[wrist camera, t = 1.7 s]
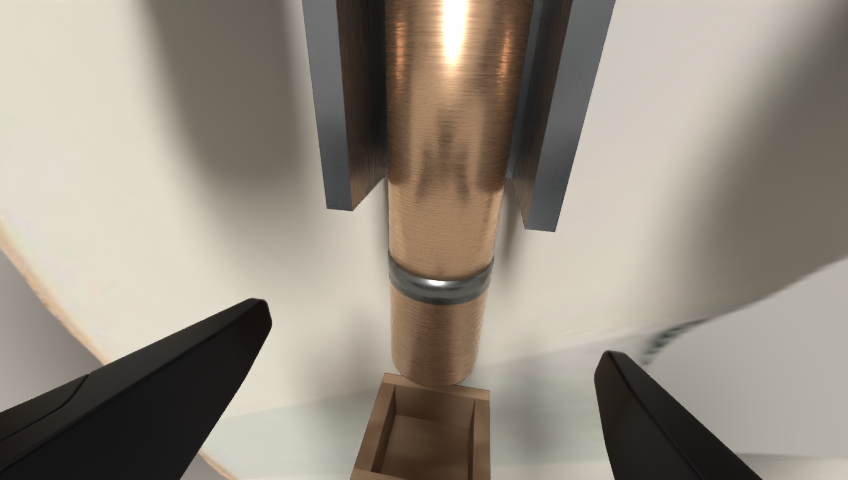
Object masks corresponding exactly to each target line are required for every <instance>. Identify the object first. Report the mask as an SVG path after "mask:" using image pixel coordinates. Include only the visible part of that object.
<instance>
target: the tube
mask: <svg viewBox="0 0 848 480" xmlns="http://www.w3.org/2000/svg"><path fill="white" fill-rule="evenodd" d="M533 7H534V0H385V38H386V90H387V142H388V194H389V245H390V247H389V251H388V260H389V278H390V297H391V349H392V359H393V362H394V365H395V367H396V368H397V370H398V371H399V372H400V373H401V374H402V375H403V376H404V377H405V378H406V379H408V380H409V381H411V382H413V383H415V384H418V385H421V386H425V387H431V388H442V387H448V386H452V385H454V384H457V383H459V382H461V381H462V380H464V379H465V378H466V377H467V376H468V375H469V374H470V373H471V371H472V370H473V368H474V366H475V362H476V357H477V351H478V344H479V338H480V332H481V326H482V320H483V314H484V308H485V301H486V295H487V289H488V286H489V284H490V279H491V273H492V267H493V261H494V256H493V252H494V246H495V240H496V234H497V228H498V222H499V215H500V209H501V203H502V197H503V191H504V185H505V179H506V172H507V166H508V160H509V154H510V148H511V142H512V136H513V129H514V123H515V117H516V111H517V105H518V99H519V93H520V86H521V80H522V74H523V68H524V62H525V56H526V50H527V43H528V37H529V31H530V25H531V19H532V13H533Z"/></svg>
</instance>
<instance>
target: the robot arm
mask: <svg viewBox="0 0 848 480" xmlns="http://www.w3.org/2000/svg"><path fill="white" fill-rule="evenodd" d="M271 327H272V319H271V315H270V311H269V307H268V304H267V302H266V301H265V300H263V299H257V298H249V299H247V300H245V301H243V302H241V303H238V304H236V305H234V306H232V307H230V308H228V309H226V310H223V311H221V312H219V313H217V314H215V315H213V316H210V317H208V318H206V319H204V320H202V321H200V322H198V323H195V324H193V325H191V326H189V327H187V328H185V329H182V330H180V331H178V332H176V333H174V334H172V335H170V336H167V337H165V338H163V339H161V340H159V341H157V342H154V343H152V344H150V345H148V346H146V347H144V348H142V349H139V350H137V351H135V352H133V353H131V354H129V355H126V356H124V357H122V358H120V359H118V360H116V361H114V362H111V363H109V364H107V365H105V366H103V367H101V368H99V369H96V370H94V371H92V372H91V373H90V374H86V375H83V376H81V377H79V378H77V379H75V380H73V381H70V382H68V383H66V384H64V385H62V386H60V387H58V388H55V389H53V390H51V391H49V392H46V393H44V394H42V395H40V396H38V397H35V398H33V399H31V400H28V401H26V402H24V403H21V404H19V405H17V406H14V407H12V408H10V409H7V410H5V411H3V412H0V480H180V478H181V477H182V476H183V474H184V472H185V471H186V469H187V468H188V466H189V465H190V463H191V462H192V460H193V459H194V457H195V456H196V454H197V452H198V451H199V449H200V448H201V446H202V445H203V443H204V442H205V440H206V439H207V437H208V435H209V434H210V432H211V431H212V429H213V428H214V426H215V425H216V423H217V422H218V420H219V419H220V417H221V415H222V414H223V412H224V411H225V409H226V408H227V406H228V405H229V403H230V402H231V400H232V398H233V397H234V395H235V394H236V392H237V391H238V389H239V388H240V386H241V384H242V383H243V381H244V380H245V378H246V376H247V374H248V372H249V371H250V369H251V367H252V365H253V363H254V361H255V359H256V357H257V355H258V353H259V351H260V349H261V348H262V346H263V344H264V342H265V340H266V338H267V336H268V334H269V332H270V330H271ZM594 383H595V389H596V395H597V401H598V406H599V412H600V418H601V424H602V430H603V435H604V440H605V446H606V449H607V453H608V457H609V461H610V464H611V468H612V471H613V475H614V479H615V480H762V479H761V478H760V477H759V476H758V475H757V474H756V473H755V472H754V471H753V470H752V469H750V468H749V467H748V466H747V465H746V464H745V463H744V462H743V461H742V460H741V459H740V458H739V457H737V456H736V455H735V454H734V453H733V452H732V451H731V450H730V449H729V448H728V447H726V446H725V445H724V444H723V443H722V442H721V441H720V440H719V439H718V438H717V437H716V436H715V435H713V434H712V433H711V432H710V431H709V430H708V429H707V428H706V427H705V426H704V425H703V424H702V423H700V422H699V421H698V420H697V419H696V418H695V417H694V416H693V415H692V414H691V413H690V412H688V411H687V410H686V409H685V408H684V407H683V406H682V405H681V404H680V403H679V402H677V401H676V400H675V399H674V398H673V397H672V396H671V395H670V394H669V393H668V392H667V391H666V390H665V389H663V388H662V387H661V386H660V385H659V384H658V383H657V382H656V381H655V380H654V379H652V378H651V377H650V376H649V375H648V374H647V373H646V372H645V371H644V370H643V369H642V368H641V367H639V366H638V365H637V364H636V363H635V362H634V361H633V360H632V359H631V358H630V357H629V356H628V355H626V354H625V353H623V352H617V351H611V350H606V351H605V352H604V353H603V354H602V357H601V359H600V361H599V364H598V366H597V368H596V371H595V374H594Z"/></svg>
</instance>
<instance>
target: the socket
mask: <svg viewBox="0 0 848 480" xmlns="http://www.w3.org/2000/svg"><path fill="white" fill-rule="evenodd" d="M350 480H490V406H489V391H487V390H481V389H475V388H469V387H463V386H457V385H452V386H448V387H442V388H431V387H425V386H421V385H418V384H415V383H413V382H411V381H409V380H408V379H406V378H405V377H404V376H398V375H392V374H386V373H385V374H384V377H383V380H382V383H381V386H380V389H379V392H378V395H377V398H376V401H375V404H374V407H373V410H372V413H371V416H370V419H369V423H368V426H367V429H366V432H365V435H364V438H363V441H362V444H361V447H360V450H359V453H358V456H357V459H356V462H355V465H354V468H353V471H352V474H351V477H350Z"/></svg>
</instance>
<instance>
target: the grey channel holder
mask: <svg viewBox="0 0 848 480" xmlns="http://www.w3.org/2000/svg"><path fill="white" fill-rule="evenodd" d="M615 1H616V0H534V7H533V13H532V19H531V25H530V31H529V37H528V43H527V50H526V56H525V62H524V68H523V74H522V80H521V86H520V93H519V99H518V105H517V111H516V117H515V123H514V129H513V136H512V142H511V148H510V154H509V160H508V166H507V172H506V178H510V179H513V182H514V186H515V190H516V195H517V199H518V203H519V207H520V211H521V215H522V219H523V223H524V227H525V229H530V230H540V231H550V232H555V230H556V226H557V222H558V219H559V215H560V211H561V207H562V203H563V200H564V196H565V192H566V188H567V184H568V180H569V177H570V173H571V169H572V165H573V161H574V157H575V154H576V150H577V146H578V142H579V138H580V134H581V131H582V127H583V123H584V119H585V115H586V112H587V108H588V104H589V100H590V96H591V92H592V89H593V85H594V81H595V77H596V73H597V69H598V66H599V62H600V58H601V54H602V50H603V46H604V43H605V39H606V35H607V31H608V27H609V24H610V20H611V16H612V12H613V8H614V4H615ZM302 5H303V13H304V22H305V30H306V38H307V47H308V55H309V63H310V72H311V80H312V88H313V97H314V105H315V113H316V122H317V130H318V138H319V147H320V155H321V163H322V172H323V180H324V188H325V197H326V205H327V209H336V210H345V211H353V210H354V209H355V208H356V207H357V206H358V205H359V204H360V202H361V201H362V200H363V199H364V198H365V197H366V196H367V195H368V194H369V193H370V192H371V190H372V189H373V188H374V187H375V186H376V185H377V184H378V183H379V182H380V181H381V180H382V179H383V177H384V176H385V175H386V174H387V173H388V142H387V90H386V38H385V0H302Z"/></svg>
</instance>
